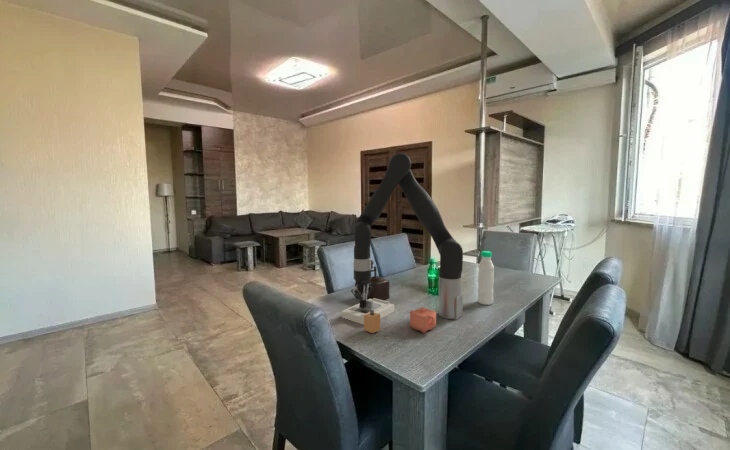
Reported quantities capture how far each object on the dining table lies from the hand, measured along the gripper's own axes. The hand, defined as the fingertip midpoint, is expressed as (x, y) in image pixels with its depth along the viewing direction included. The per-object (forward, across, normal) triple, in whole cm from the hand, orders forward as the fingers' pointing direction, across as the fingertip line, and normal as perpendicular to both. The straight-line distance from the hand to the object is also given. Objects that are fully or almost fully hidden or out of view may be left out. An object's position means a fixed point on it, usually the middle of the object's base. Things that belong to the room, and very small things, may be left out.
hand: (363, 307), depth 140 cm
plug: (+4, -9, -12) cm, 15 cm away
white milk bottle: (+5, +49, -36) cm, 61 cm away
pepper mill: (+5, +24, +13) cm, 28 cm away
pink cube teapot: (+5, +5, -26) cm, 27 cm away
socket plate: (+4, +4, 0) cm, 6 cm away
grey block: (+1, +5, 0) cm, 5 cm away
